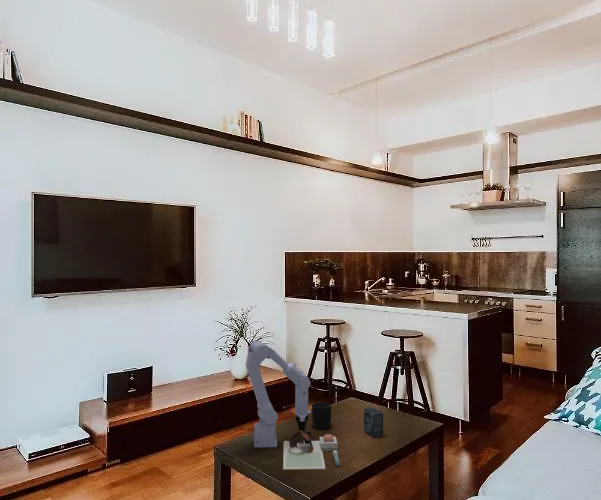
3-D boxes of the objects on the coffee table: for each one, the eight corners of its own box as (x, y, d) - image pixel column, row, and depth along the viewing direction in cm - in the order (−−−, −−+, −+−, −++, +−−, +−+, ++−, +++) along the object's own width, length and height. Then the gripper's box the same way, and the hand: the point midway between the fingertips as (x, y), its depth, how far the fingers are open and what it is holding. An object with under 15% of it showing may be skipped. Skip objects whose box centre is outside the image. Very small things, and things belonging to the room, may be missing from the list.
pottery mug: (310, 457, 180) (299, 439, 180) (292, 462, 184) (282, 445, 184) (321, 438, 190) (311, 422, 190) (304, 444, 195) (294, 428, 195)
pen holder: (335, 425, 214) (334, 404, 215) (325, 431, 207) (325, 409, 207) (318, 421, 219) (318, 400, 220) (308, 427, 212) (308, 406, 212)
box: (363, 431, 206) (363, 408, 206) (374, 429, 208) (374, 407, 209) (372, 437, 199) (372, 414, 199) (383, 436, 201) (383, 412, 201)
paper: (283, 469, 168) (283, 468, 168) (283, 441, 194) (283, 441, 194) (325, 469, 169) (325, 468, 169) (320, 441, 195) (320, 440, 195)
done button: (324, 445, 187) (324, 437, 187) (323, 441, 191) (323, 434, 191) (333, 445, 187) (333, 437, 187) (332, 441, 191) (332, 434, 191)
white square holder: (320, 450, 185) (320, 443, 186) (319, 443, 192) (319, 436, 193) (337, 450, 186) (337, 443, 186) (335, 443, 193) (335, 436, 193)
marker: (335, 466, 171) (335, 461, 171) (332, 455, 181) (332, 450, 181) (340, 466, 171) (340, 461, 171) (337, 455, 181) (337, 450, 181)
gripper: (311, 406, 192) (311, 438, 192) (309, 396, 206) (309, 425, 206) (295, 406, 192) (295, 438, 191) (294, 396, 206) (294, 426, 206)
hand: (301, 432), depth 199 cm, fingers closed
